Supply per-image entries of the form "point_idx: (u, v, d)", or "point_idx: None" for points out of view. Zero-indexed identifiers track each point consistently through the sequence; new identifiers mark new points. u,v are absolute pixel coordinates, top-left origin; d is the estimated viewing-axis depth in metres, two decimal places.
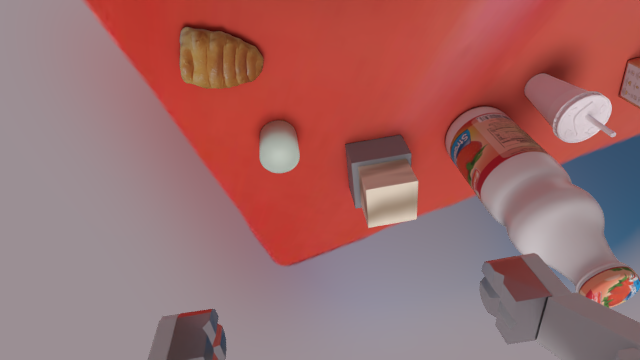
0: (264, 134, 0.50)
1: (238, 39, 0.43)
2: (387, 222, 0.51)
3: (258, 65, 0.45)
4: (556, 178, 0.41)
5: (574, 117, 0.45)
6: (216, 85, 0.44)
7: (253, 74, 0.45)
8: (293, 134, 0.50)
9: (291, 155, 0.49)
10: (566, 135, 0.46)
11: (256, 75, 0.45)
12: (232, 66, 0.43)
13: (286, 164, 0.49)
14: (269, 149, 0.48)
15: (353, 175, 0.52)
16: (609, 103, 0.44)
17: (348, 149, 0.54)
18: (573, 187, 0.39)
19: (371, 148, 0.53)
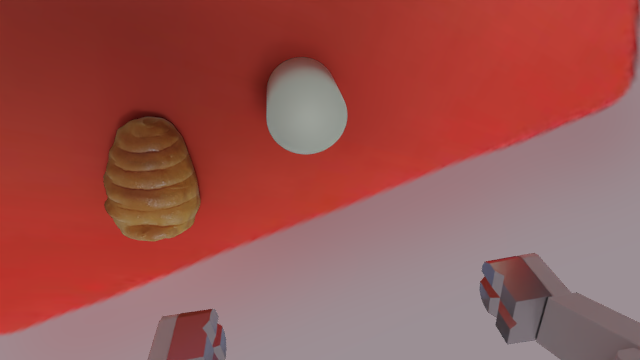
0: None
1: (109, 155, 0.27)
2: None
3: (142, 130, 0.26)
4: None
5: None
6: (180, 197, 0.28)
7: (159, 139, 0.27)
8: (279, 74, 0.25)
9: (305, 94, 0.23)
10: None
11: (161, 134, 0.27)
12: (140, 175, 0.27)
13: (327, 105, 0.24)
14: (288, 136, 0.24)
15: None
16: None
17: None
18: None
19: None
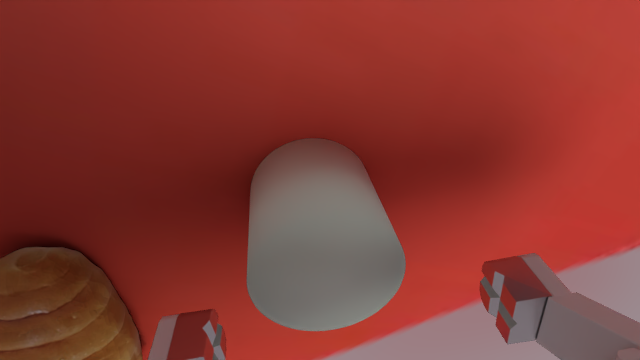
0: None
1: None
2: None
3: (14, 280, 0.14)
4: None
5: None
6: None
7: (48, 293, 0.15)
8: (272, 182, 0.13)
9: (324, 241, 0.11)
10: None
11: (51, 283, 0.15)
12: (18, 356, 0.15)
13: (367, 256, 0.12)
14: (291, 308, 0.13)
15: None
16: None
17: None
18: None
19: None
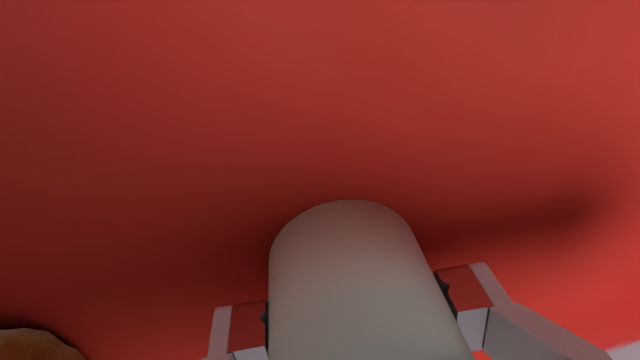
0: None
1: None
2: None
3: None
4: None
5: None
6: None
7: None
8: (301, 268, 0.10)
9: None
10: None
11: None
12: None
13: None
14: None
15: None
16: None
17: None
18: None
19: None
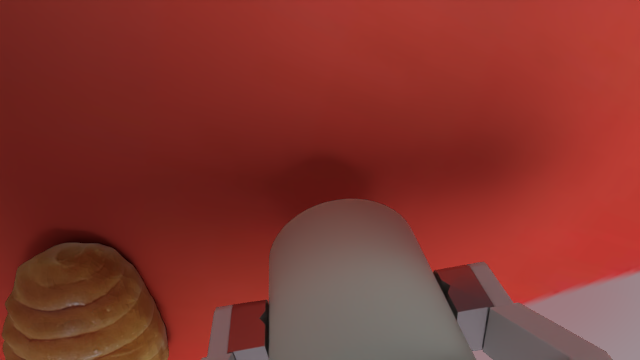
0: None
1: None
2: None
3: (54, 273, 0.15)
4: None
5: None
6: None
7: (84, 286, 0.16)
8: (301, 267, 0.10)
9: None
10: None
11: (88, 277, 0.16)
12: (56, 345, 0.16)
13: None
14: None
15: None
16: None
17: None
18: None
19: None
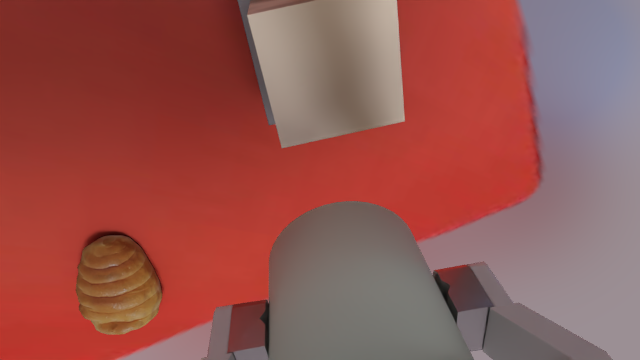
0: None
1: (78, 268, 0.33)
2: (394, 74, 0.19)
3: (102, 250, 0.32)
4: None
5: None
6: (141, 298, 0.33)
7: (117, 256, 0.32)
8: (301, 270, 0.10)
9: None
10: None
11: (119, 251, 0.32)
12: (104, 286, 0.32)
13: None
14: None
15: None
16: None
17: None
18: None
19: None
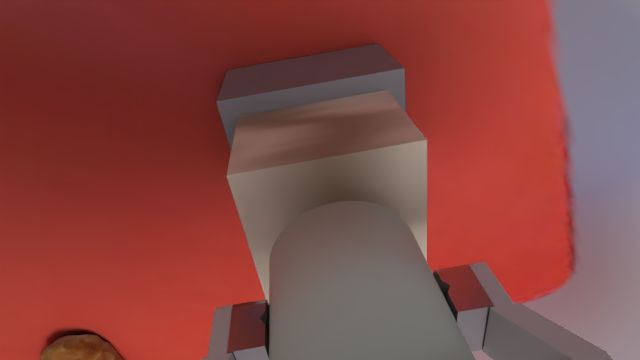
0: None
1: None
2: (417, 235, 0.14)
3: (62, 355, 0.27)
4: None
5: None
6: None
7: None
8: (302, 270, 0.10)
9: None
10: None
11: (81, 356, 0.28)
12: None
13: None
14: None
15: None
16: None
17: None
18: None
19: None
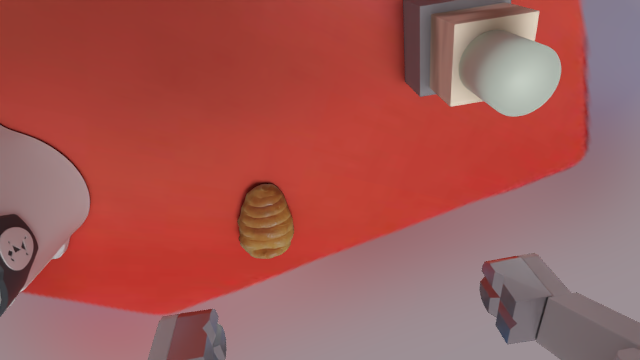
0: (475, 93, 0.29)
1: (241, 209, 0.45)
2: None
3: (262, 193, 0.44)
4: None
5: None
6: (285, 230, 0.46)
7: (272, 198, 0.44)
8: (492, 42, 0.28)
9: (530, 59, 0.26)
10: None
11: (273, 194, 0.44)
12: (263, 220, 0.45)
13: (545, 70, 0.26)
14: (503, 98, 0.27)
15: None
16: None
17: (409, 83, 0.40)
18: None
19: (410, 55, 0.37)
